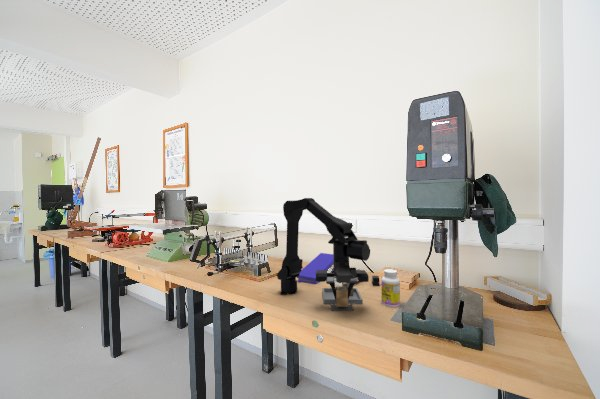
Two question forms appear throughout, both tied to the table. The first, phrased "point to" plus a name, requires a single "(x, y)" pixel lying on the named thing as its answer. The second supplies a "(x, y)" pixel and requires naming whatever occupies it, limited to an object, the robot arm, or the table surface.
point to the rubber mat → (341, 308)
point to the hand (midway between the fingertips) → (341, 299)
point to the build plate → (375, 280)
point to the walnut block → (346, 286)
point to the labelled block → (341, 296)
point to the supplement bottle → (390, 288)
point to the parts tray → (330, 299)
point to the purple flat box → (315, 268)
